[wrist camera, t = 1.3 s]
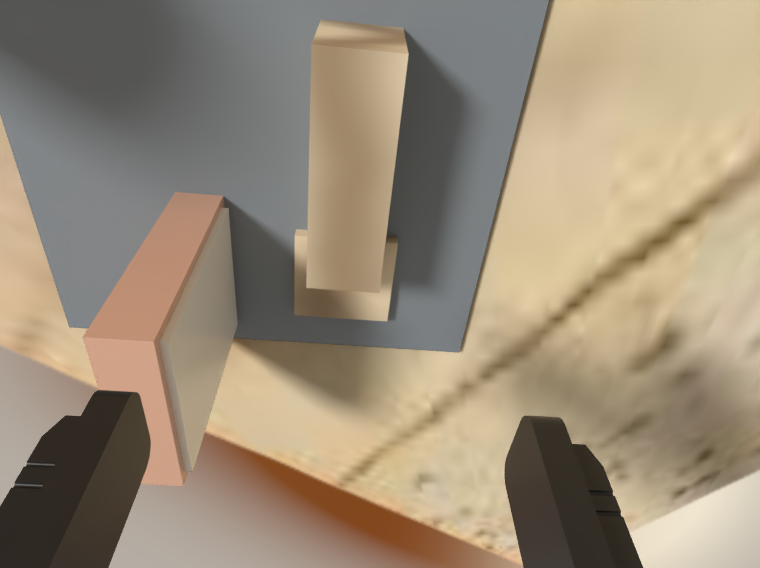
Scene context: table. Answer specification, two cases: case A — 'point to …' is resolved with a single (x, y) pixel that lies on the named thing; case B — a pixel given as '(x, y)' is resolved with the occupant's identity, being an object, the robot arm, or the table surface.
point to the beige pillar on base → (351, 171)
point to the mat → (258, 144)
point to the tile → (171, 329)
